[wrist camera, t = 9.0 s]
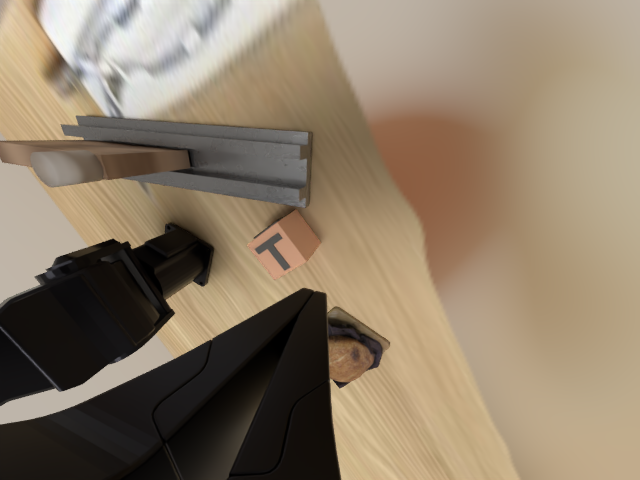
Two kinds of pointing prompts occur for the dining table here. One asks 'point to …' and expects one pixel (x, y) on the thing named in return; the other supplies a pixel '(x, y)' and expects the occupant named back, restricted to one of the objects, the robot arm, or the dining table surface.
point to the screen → (90, 160)
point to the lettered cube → (284, 244)
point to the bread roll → (352, 347)
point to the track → (217, 156)
